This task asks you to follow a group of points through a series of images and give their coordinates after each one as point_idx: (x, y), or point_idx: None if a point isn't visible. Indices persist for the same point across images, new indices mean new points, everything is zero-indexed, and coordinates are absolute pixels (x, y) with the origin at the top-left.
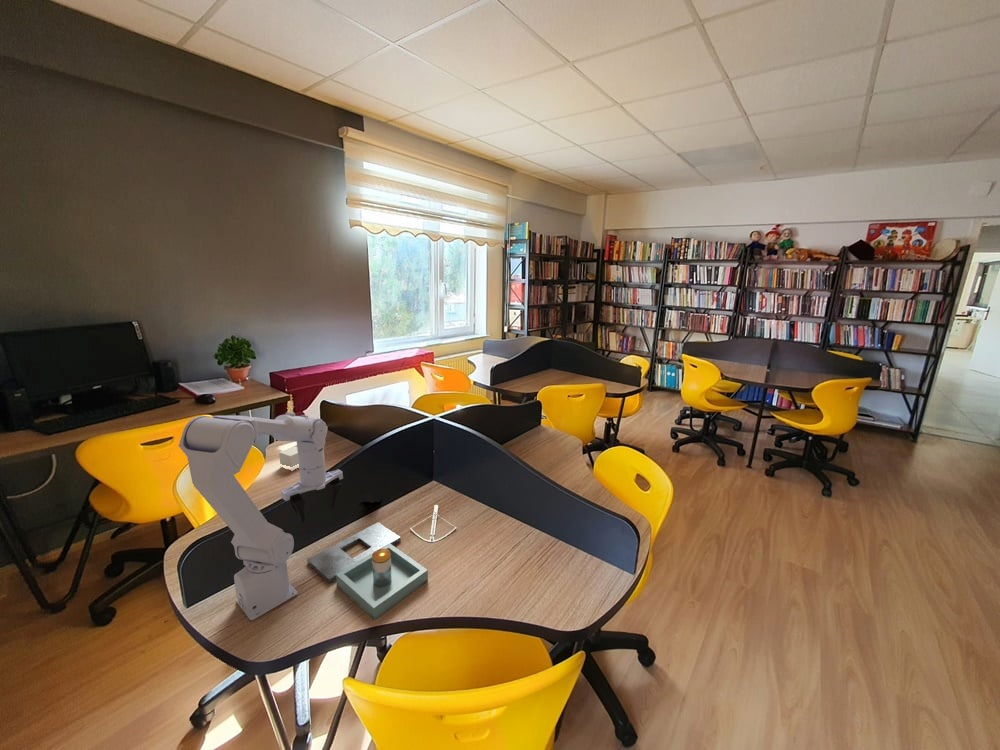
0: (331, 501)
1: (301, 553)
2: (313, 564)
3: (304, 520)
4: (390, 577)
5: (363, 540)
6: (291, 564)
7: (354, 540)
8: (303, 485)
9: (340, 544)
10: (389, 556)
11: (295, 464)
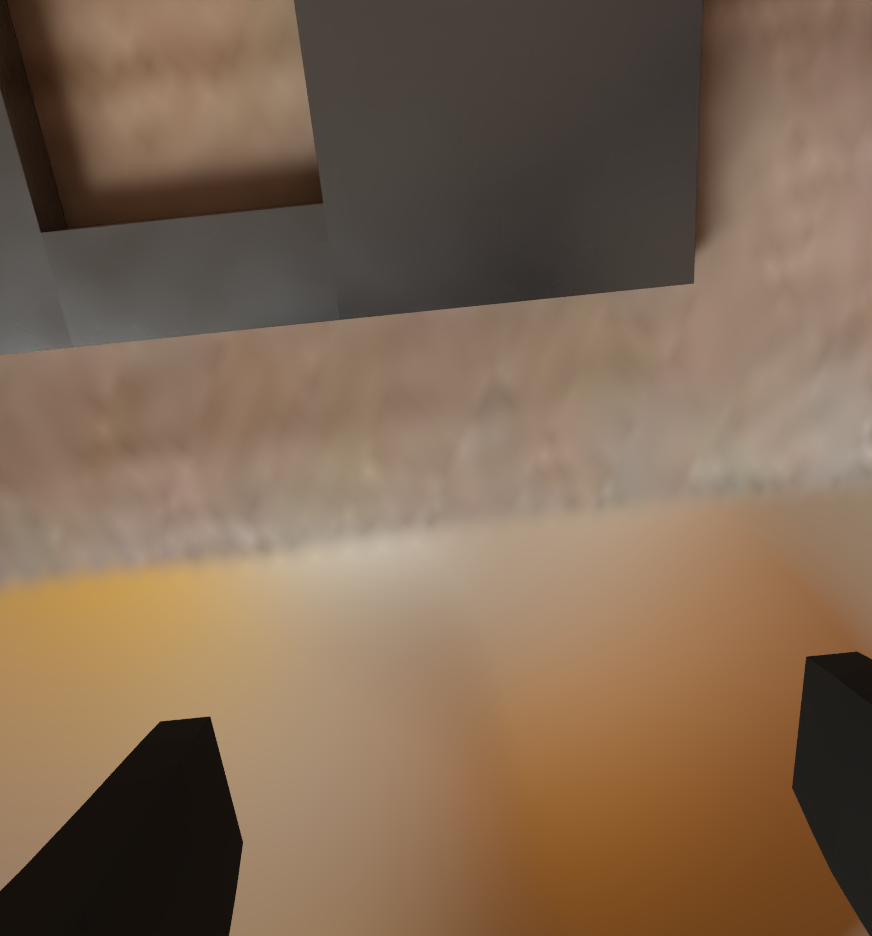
0: (131, 884)
1: (637, 473)
2: (694, 129)
3: (824, 667)
4: None
5: (8, 139)
6: (785, 376)
7: (114, 224)
8: None
9: (290, 272)
10: None
11: None
